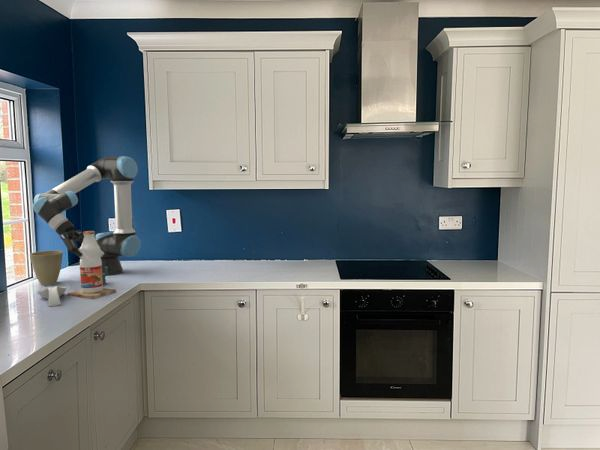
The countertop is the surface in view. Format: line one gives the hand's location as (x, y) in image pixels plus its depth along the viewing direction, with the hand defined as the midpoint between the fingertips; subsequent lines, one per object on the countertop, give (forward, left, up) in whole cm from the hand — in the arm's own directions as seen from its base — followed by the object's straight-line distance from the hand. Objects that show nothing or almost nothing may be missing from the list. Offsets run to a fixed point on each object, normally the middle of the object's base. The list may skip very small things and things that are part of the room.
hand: (95, 258), depth 222 cm
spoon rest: (+15, -10, -17) cm, 25 cm away
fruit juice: (+1, -2, -16) cm, 16 cm away
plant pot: (-6, -40, -17) cm, 44 cm away
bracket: (-14, -15, -17) cm, 26 cm away
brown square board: (+1, -2, -17) cm, 17 cm away
